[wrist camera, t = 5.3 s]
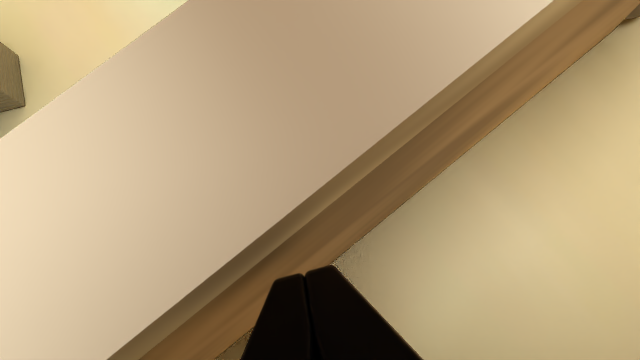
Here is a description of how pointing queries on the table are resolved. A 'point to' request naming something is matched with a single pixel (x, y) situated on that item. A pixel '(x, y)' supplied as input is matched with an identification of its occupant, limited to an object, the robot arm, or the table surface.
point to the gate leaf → (249, 158)
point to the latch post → (10, 80)
